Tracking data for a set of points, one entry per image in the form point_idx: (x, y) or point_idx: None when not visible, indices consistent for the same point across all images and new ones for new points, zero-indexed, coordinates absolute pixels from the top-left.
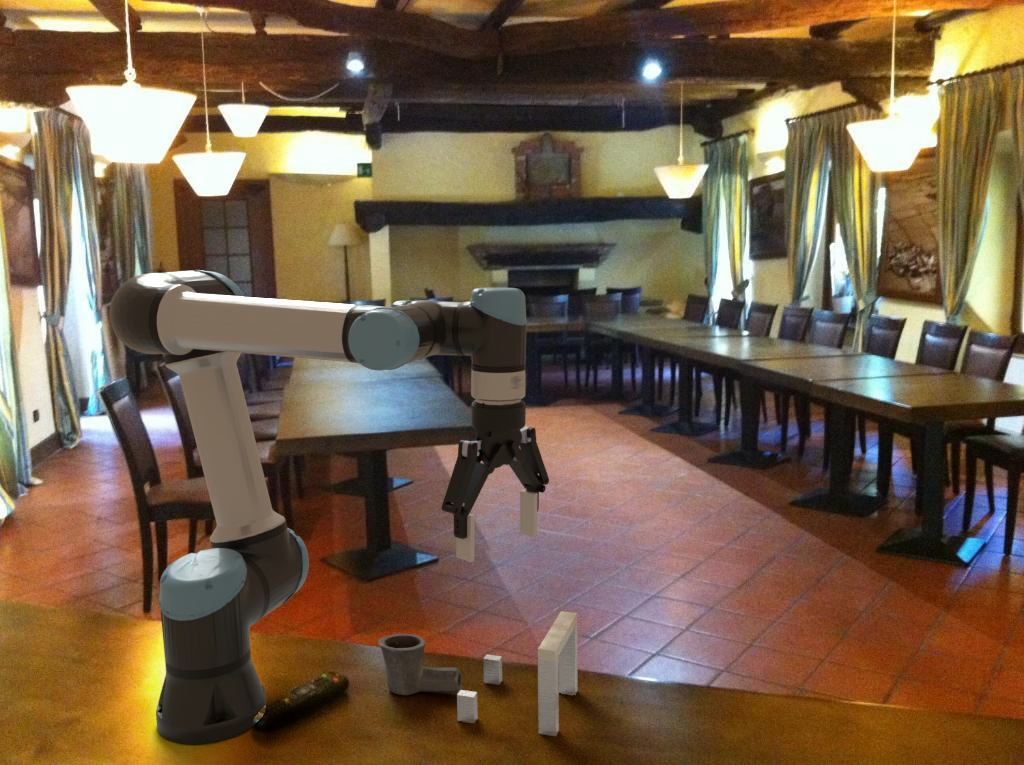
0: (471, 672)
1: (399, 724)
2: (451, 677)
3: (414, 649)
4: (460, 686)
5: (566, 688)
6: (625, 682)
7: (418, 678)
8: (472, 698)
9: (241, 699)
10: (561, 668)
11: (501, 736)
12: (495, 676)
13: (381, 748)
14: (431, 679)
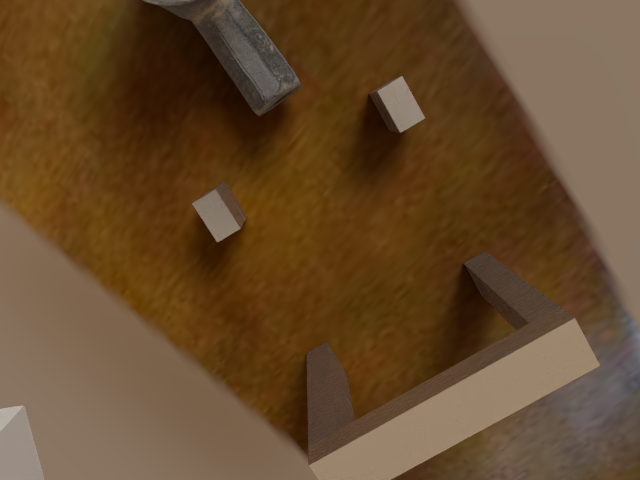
0: (383, 22)
1: (88, 108)
2: (250, 101)
3: (156, 4)
4: (285, 98)
5: (476, 283)
6: (610, 330)
7: (190, 20)
8: (216, 238)
9: None
10: (486, 286)
11: (240, 307)
12: (387, 122)
13: (3, 166)
14: (215, 53)
